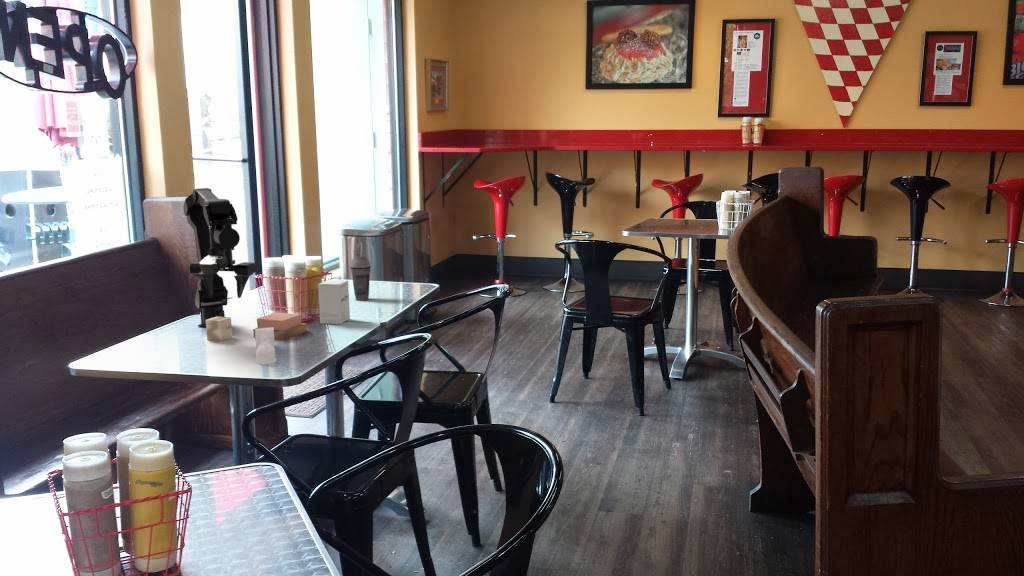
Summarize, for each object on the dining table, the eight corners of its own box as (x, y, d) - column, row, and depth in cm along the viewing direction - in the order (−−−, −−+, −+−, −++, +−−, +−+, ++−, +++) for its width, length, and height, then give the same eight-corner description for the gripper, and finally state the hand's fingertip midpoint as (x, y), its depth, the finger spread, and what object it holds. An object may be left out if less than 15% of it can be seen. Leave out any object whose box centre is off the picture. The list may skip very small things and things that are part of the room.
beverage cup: (362, 296, 317) (359, 240, 313) (377, 298, 313) (374, 242, 309) (347, 300, 311) (344, 243, 307) (362, 302, 307) (359, 245, 303)
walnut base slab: (253, 339, 261) (253, 329, 261) (276, 330, 271) (275, 321, 271) (285, 342, 257) (284, 331, 257) (307, 333, 268) (306, 323, 267)
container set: (256, 347, 250) (254, 328, 249) (275, 345, 252) (273, 326, 251) (255, 366, 231) (254, 345, 230) (276, 364, 233) (274, 343, 232)
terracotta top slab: (257, 328, 261) (256, 318, 261) (275, 322, 270) (275, 312, 269) (283, 330, 258) (282, 320, 258) (301, 324, 266) (300, 314, 266)
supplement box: (341, 324, 275) (339, 284, 273) (319, 323, 276) (317, 283, 274) (350, 319, 282) (348, 279, 280) (328, 318, 284) (326, 279, 281)
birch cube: (207, 340, 259) (205, 320, 258) (218, 336, 263) (216, 316, 262) (221, 341, 257) (219, 321, 256) (232, 337, 261) (230, 317, 260)
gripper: (175, 247, 250) (180, 301, 253) (235, 249, 246) (239, 304, 249) (197, 241, 261) (202, 293, 264) (255, 243, 256) (259, 296, 259)
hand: (225, 297), depth 259 cm, fingers open, 9 cm apart
